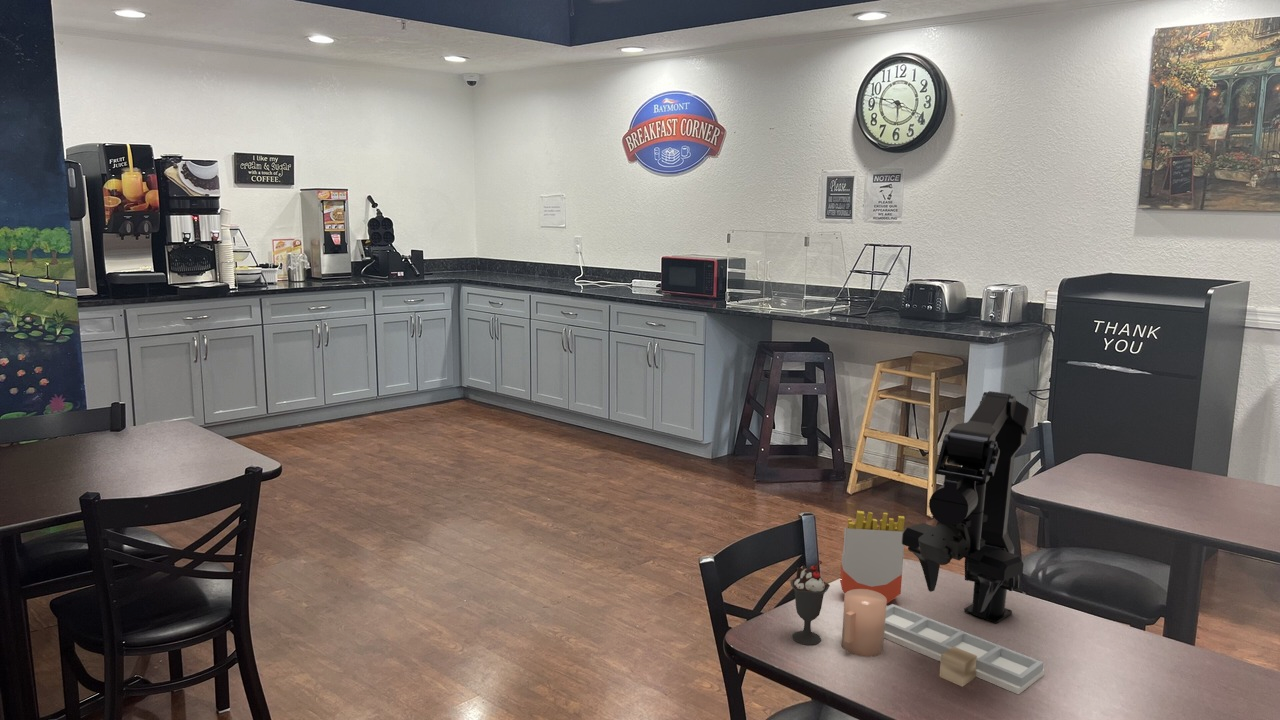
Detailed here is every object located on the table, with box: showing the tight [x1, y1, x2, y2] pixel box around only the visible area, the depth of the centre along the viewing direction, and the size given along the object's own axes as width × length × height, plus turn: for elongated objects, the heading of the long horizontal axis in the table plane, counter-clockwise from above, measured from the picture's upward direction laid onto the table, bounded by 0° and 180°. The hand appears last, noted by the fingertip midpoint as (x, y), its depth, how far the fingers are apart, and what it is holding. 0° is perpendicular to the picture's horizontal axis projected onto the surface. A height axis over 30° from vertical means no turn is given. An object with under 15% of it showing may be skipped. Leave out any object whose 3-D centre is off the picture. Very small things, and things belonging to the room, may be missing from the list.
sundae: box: [789, 560, 831, 646], centre depth 159 cm, size 7×7×15 cm
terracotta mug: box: [841, 589, 888, 658], centre depth 156 cm, size 8×7×9 cm
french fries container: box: [839, 510, 906, 604], centre depth 174 cm, size 5×11×18 cm, turn 83°
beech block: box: [939, 647, 977, 687], centre depth 148 cm, size 4×4×4 cm
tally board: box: [884, 603, 1045, 695], centre depth 156 cm, size 9×28×2 cm, turn 42°
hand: (955, 600), depth 147 cm, fingers open, 9 cm apart
